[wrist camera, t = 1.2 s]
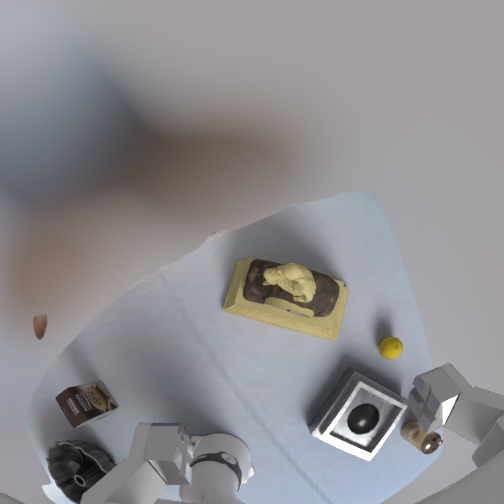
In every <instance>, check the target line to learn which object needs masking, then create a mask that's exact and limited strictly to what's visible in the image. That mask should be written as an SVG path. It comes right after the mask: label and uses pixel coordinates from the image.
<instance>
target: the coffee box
mask: <svg viewBox="0 0 504 504" xmlns="http://www.w3.org/2000/svg"><path fill="white" fill-rule="evenodd" d="M55 399H56V400H57V402H58V404H59V406H60V407H61V409H62V410H63V412H64V414H65V415H66V417H67V419H68V420H69V422H70V423H71V425H72V426H73V428H74V429H75V428H78V427H80V426H83V425H86V424H88V423H91V422H93V421H96V420H98V419H101V418H103V417H105V416H107V415H109V414H110V413H112V412H113V411H115V410H116V409H118V408H119V407H118V405H117V404H116V402H115V401H114V399H113V398H112V396H111V395H110V393H109V392H108V390H107V389H106V387H105V386H104V384H103V382H102V381H98V382H94V383H89V384H84V385H79V386H75V387H69V388H67V389H66V390H64V391H63V392H62V393H61V394H59V395H58V396H57V397H56V398H55Z"/></svg>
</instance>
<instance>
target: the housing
mask: <svg viewBox="0 0 504 504" xmlns="http://www.w3.org/2000/svg"><path fill="white" fill-rule="evenodd" d="M408 404H409V400H408V399H406V398H404V397H402V396H400V395H398V394H396V393H395V392H393V391H391V390H389V389H387V388H385V387H383V386H382V385H380V384H378V383H376V382H374V381H372V380H371V379H369V378H367V377H365V376H363V375H362V374H360V373H358V372H356V371H354V370H352V369H350V368H348V369H347V370H346V372H345V374H344V375H343V377H342V378H341V380H340V381H339V383H338V385H337V386H336V388H335V389H334V391H333V392H332V394H331V395H330V397H329V398H328V400H327V401H326V402H325V404H324V405H323V407H322V408H321V410H320V411H319V412H318V414H317V415H316V417H315V418H314V419H313V421H312V422H311V424H310V425H309V426H308V428H309V431H310V433H311V435H312V436H314V437H316V438H318V439H320V440H323V441H325V442H327V443H329V444H331V445H333V446H335V447H338V448H340V449H342V450H344V451H347V452H349V453H351V454H354V455H356V456H358V457H361V458H363V459H366V460H368V461H370V460H371V459H372V457H373V456H374V455H375V454H376V452H377V451H378V450H379V448H380V447H381V445H382V444H383V443H384V441H385V440H386V438H387V437H388V436H389V434H390V433H391V431H392V430H393V428H394V427H395V425H396V424H397V422H398V421H399V419H400V418H401V416H402V414H403V413H404V411H405V410H406V408H407V406H408Z"/></svg>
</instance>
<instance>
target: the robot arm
mask: <svg viewBox="0 0 504 504" xmlns="http://www.w3.org/2000/svg"><path fill="white" fill-rule="evenodd" d="M413 385H414V388H413V389H412V390H411V392H410V394H409V398H408V399H409V406H410V409H411V411H412V412H413V414H414V415H416V416H419V424H420V425H421V427H422V429H423V430H424V432H425V433H426V434H428V433H430V432H433V431H435V430H437V429H439V428H441V427H443V426H444V427H445V428H446V429H448V430H450V431H452V432H454V433H456V434H457V435H459V436H461V437H463V438H465V439H467V440H468V441H470V442H472V443H474V444H476V445H478V446H479V447H478V448H477V449H476V451H475V452H474V454H473V455H472V459H473V461H474V463H475V464H476V466H477V469H476V470H474V471H472V472H471V473H469V474H468V475H467V476H465V477H463V478H461V479H460V480H458V481H456V482H455V483H453V484H451V485H450V486H448V487H446V488H444V489H442V490H441V491H439V492H437V493H435V494H433V495H431V496H429V497H427V498H425V499H423V500H421V501H419V502H417V503H415V504H504V396H503V395H500V394H496V393H494V392H491V391H487V390H484V389H482V388H479V387H473V388H472V386H471V385H470V384H469V383H468V382H467V381H466V380H465V378H464V377H463V376H462V375H461V374H460V373H459V372H458V371H457V370H456V368H455V367H454V366H453V365H452V364H450V363H447V364H445V365H443V366H441V367H438V368H435V369H432V370H430V371H428V372H425V373H423V374H420V375H418V376H416V377H415V378H414V381H413ZM193 443H195V445H194V444H193ZM254 473H255V470H254V468H253V466H252V464H251V455H250V451H249V449H248V447H247V446H246V445H245V444H244V443H243V442H242V441H241V440H240V439H238V438H236V437H234V436H232V435H229V434H223V433H216V434H211V435H207V436H192V437H191V439H190V438H189V436H188V435H186V434H185V428H184V426H183V424H182V423H139V424H138V425H137V427H136V430H135V434H134V438H133V442H132V445H131V449H130V453H129V457H128V459H123V460H122V461H121V462H120V463H119V464H118V465H117V466H115V467H114V468H113V469H112V470H111V471H110V472H109V473H107V474H106V475H105V476H104V477H103V478H102V479H101V480H99V481H98V482H97V483H96V484H95V485H93V486H92V487H91V488H90V489H89V490H87V491H86V492H85V493H84V494H83V495H82V499H81V502H80V504H245V503H243V502H241V501H240V500H239V499H238V498H237V492H238V490H239V489H240V488H241V487H242V484H243V483H246V482H247V479H249V478H250V477H251V476H253V475H254ZM168 485H180V487H179V495H180V498H181V500H182V502H179V501H171V500H164V499H158V498H159V496H160V495H161V494H162V493H163V491H164V490H165V489H166V488H167V486H168ZM0 504H25V503H22V502H20V501H18V500H16V499H14V498H12V497H11V496H9V495H7V494H4V493H0Z"/></svg>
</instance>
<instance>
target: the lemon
mask: <svg viewBox="0 0 504 504" xmlns="http://www.w3.org/2000/svg"><path fill="white" fill-rule="evenodd" d="M402 349H403V346H402V343H401V341H400V340H399V339H398V338H396V337H387V338H385V339H384V340H382V342H381V343H380V346H379V351H380V354H381V355H382V356H383V357H384V358H386V359H394V358H396V357H398V356H399V355H400V354H401V352H402Z"/></svg>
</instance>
